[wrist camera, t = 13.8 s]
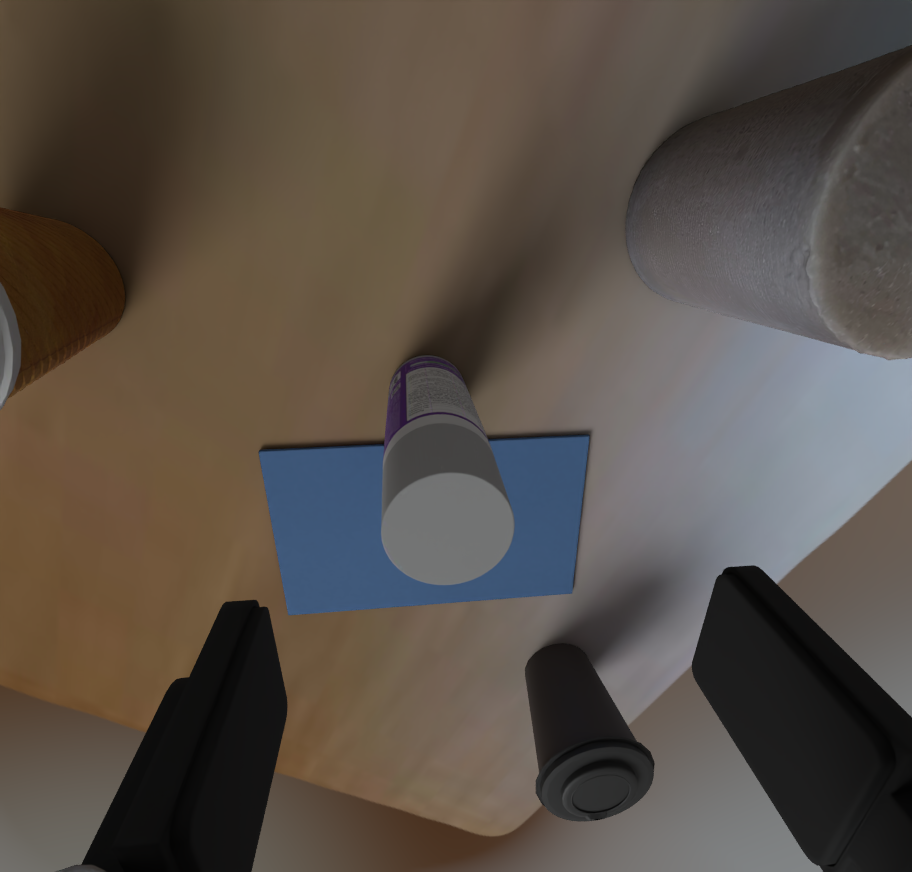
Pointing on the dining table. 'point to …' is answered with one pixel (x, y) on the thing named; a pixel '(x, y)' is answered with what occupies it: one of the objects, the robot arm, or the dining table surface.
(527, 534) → the napkin
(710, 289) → the pillar candle
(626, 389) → the dining table surface
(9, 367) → the disposable coffee cup
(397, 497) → the container
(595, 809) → the coffee cup
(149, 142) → the dining table surface
